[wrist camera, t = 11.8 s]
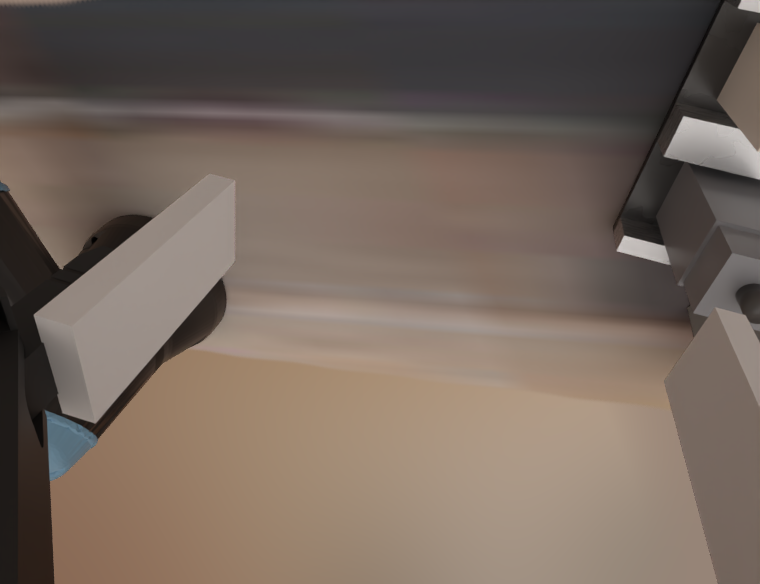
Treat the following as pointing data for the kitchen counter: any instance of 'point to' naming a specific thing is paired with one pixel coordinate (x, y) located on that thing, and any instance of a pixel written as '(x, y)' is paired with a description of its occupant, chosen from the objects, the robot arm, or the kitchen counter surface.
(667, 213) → the twin plug
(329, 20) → the kitchen counter surface
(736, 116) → the plug
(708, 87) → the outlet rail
